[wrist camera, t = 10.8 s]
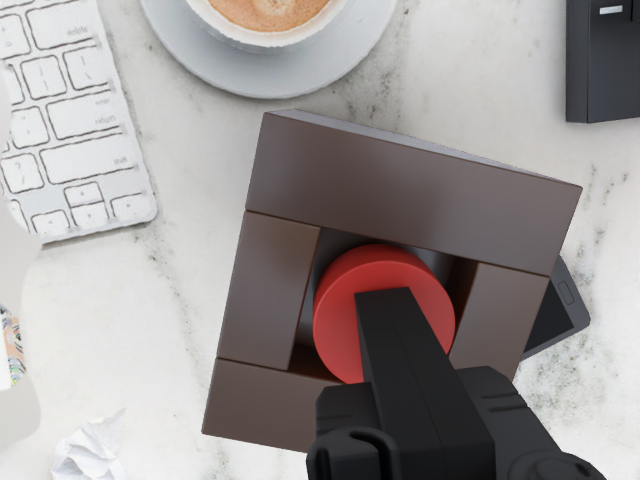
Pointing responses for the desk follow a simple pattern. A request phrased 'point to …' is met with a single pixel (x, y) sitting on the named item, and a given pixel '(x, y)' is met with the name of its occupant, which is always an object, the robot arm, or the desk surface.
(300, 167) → the block
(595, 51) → the panel
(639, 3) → the stove knob
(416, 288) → the button
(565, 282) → the cell phone
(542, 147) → the desk surface
